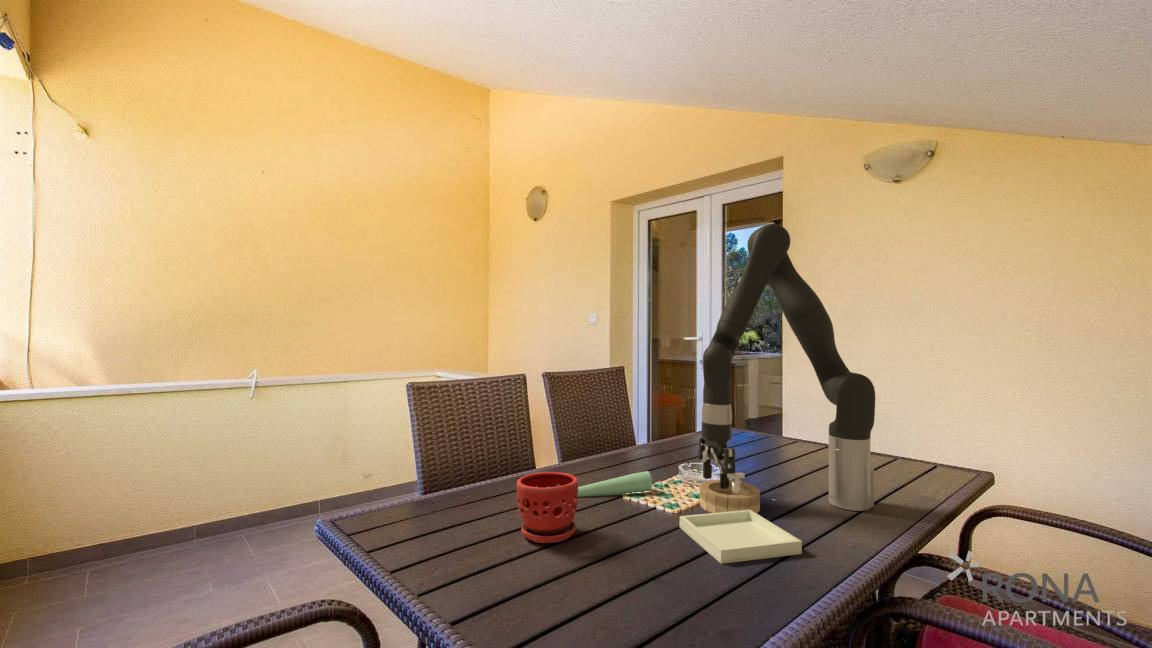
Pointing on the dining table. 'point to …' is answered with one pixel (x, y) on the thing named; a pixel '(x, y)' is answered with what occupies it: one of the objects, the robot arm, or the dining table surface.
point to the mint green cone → (618, 485)
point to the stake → (735, 482)
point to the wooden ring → (728, 497)
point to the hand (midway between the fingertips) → (715, 483)
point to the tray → (739, 536)
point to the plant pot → (547, 506)
